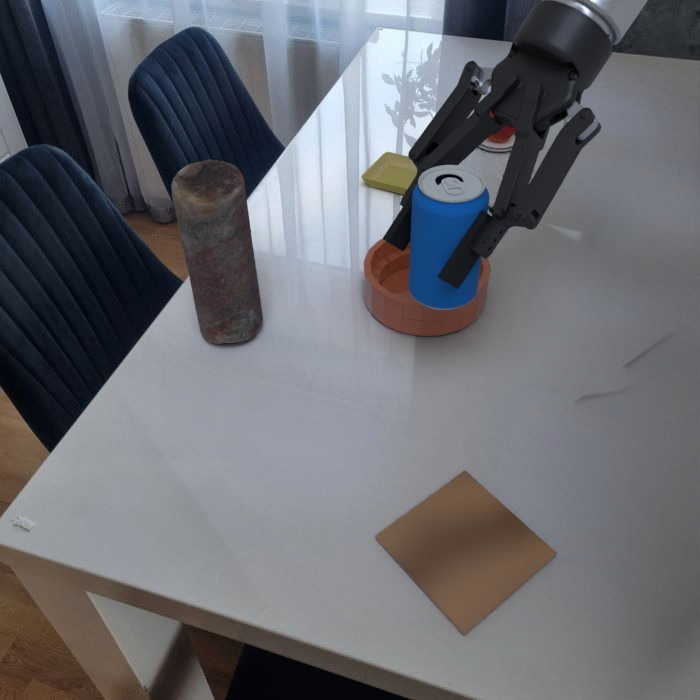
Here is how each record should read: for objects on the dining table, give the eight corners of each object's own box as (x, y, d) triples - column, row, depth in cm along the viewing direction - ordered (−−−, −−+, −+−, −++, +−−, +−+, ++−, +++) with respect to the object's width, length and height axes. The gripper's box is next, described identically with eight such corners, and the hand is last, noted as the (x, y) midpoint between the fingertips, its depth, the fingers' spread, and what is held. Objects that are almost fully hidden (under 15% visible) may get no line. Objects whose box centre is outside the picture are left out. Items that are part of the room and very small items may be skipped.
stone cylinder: (269, 308, 82) (247, 158, 68) (262, 351, 77) (236, 198, 63) (207, 308, 83) (172, 158, 69) (195, 351, 77) (155, 198, 63)
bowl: (510, 302, 82) (516, 269, 78) (420, 357, 76) (422, 323, 72) (427, 246, 90) (429, 214, 87) (340, 292, 84) (338, 259, 81)
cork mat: (556, 556, 58) (557, 553, 58) (464, 637, 54) (464, 633, 53) (464, 473, 65) (465, 469, 64) (375, 539, 60) (375, 535, 60)
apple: (464, 147, 109) (468, 108, 104) (481, 126, 114) (486, 87, 109) (513, 158, 106) (519, 118, 101) (528, 135, 111) (535, 96, 106)
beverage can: (464, 268, 68) (477, 158, 59) (485, 310, 63) (502, 197, 55) (401, 276, 67) (404, 167, 59) (417, 319, 62) (423, 207, 54)
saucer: (385, 162, 106) (386, 150, 105) (437, 175, 103) (438, 162, 102) (360, 189, 101) (359, 176, 99) (413, 203, 98) (414, 190, 96)
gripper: (692, 84, 53) (519, 329, 57) (505, 20, 64) (373, 229, 69) (672, 30, 47) (481, 308, 52) (470, -31, 58) (328, 202, 63)
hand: (419, 263), depth 60 cm, fingers closed on beverage can, 6 cm apart
